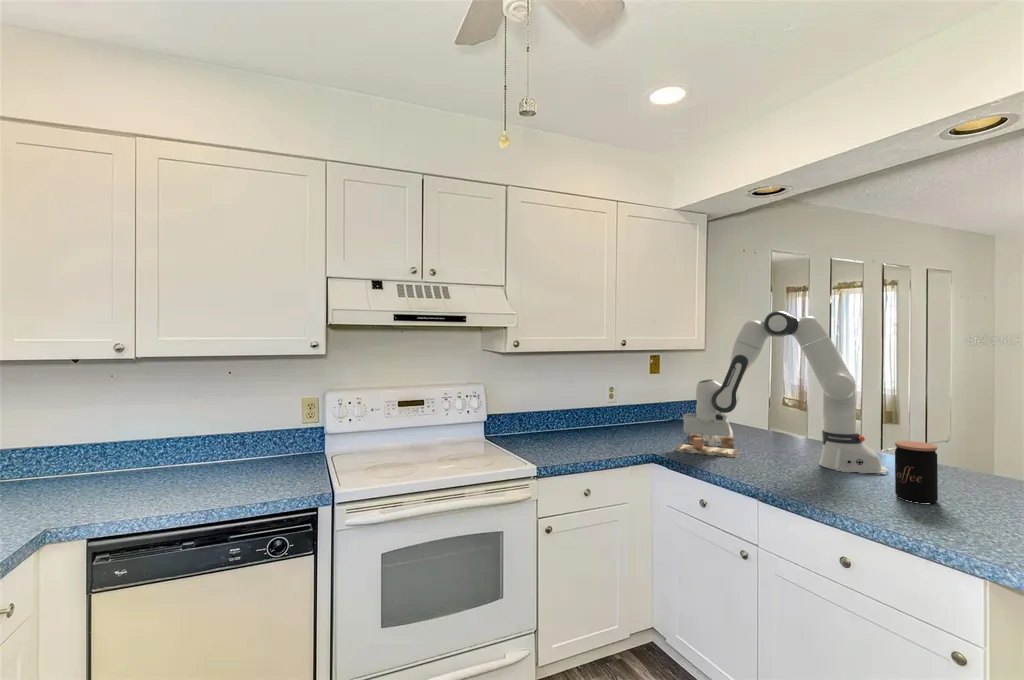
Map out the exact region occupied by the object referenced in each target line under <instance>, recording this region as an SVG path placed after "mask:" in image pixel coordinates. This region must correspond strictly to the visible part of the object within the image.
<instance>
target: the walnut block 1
mask: <svg viewBox="0 0 1024 680" xmlns="http://www.w3.org/2000/svg"><path fill="white" fill-rule="evenodd" d="M694 438H701V434H691V433H689V445H690V444H693V439H694Z"/></svg>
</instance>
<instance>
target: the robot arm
mask: <svg viewBox="0 0 1024 680" xmlns="http://www.w3.org/2000/svg"><path fill="white" fill-rule="evenodd" d="M787 336H792V337H793V338H794V339H795V340H796V342H797V343H798V345H799V347H800V349H801V351H802V352H803V354H804V356H805V357H806V359H807V361H808V363H809V365H810V366H811V367H810V368H811V369H812V370H813V372H814V375H815V376H816V379H817V380H818V383H819V384H820V386H821V388H822V391H823V392H822V393H823V407H822V411H823V413H822V415H823V416H822V417H823V418H822V419H823V421H822V422H823V428H822V429H823V430H822V431H821V432H822V433H821V443H822V450H821V457H820V460H819V462H818V464H819V466H821V467H824V468H827V469H831V470H834V471H837V472H839V471H841V472H840V473H850V472H859V473H858V474H865V473H887V472H888V473H889V470H888V468H887V467H886V466H884V465H882V463H881V459H880V457H879V455H878V453H876V452H875V451H874V450H873V449H871V448H870V447H868V446H867V445H866V444H864V443H863V442H865V440H866V437H864V436H863V435H861V434H860V433H858V432H857V406H856V403H857V402H856V400H857V399H856V389H857V384H856V379H855V378H854V376H853V375H852V374H851V372H850V370H849V369H848V367H847V365H846V363H845V362H844V360H843V358H842V356H841V354H840V352H839V351H838V349H837V347H836V345H835V344H834V342H833V340H832V339H831V337H830V335H829V333H828V332H827V330H826V329H825V328H824V326H823V325H822V324H821V322H820V321H819V320H818V319H817V318H816V317H814V316H811V315H806V316H803V317H799V318H797V317H794V316H793V315H791V314H790V313H789V312H786V311H783V310H776V311H775V310H774V311H771V312H770V313H769V314H768V315H766V316H765V318H764V320H761V321H760V320H755V319H751V320H747V321H746V322H745V323H744V324H743V326H742V327H741V329H740V331H739V333H738V335H737V337H736V338H735V342H734V344H733V348H732V352H731V356H730V357H731V358H730V364H729V368H728V370H727V373H726V375H725V377H724V380H723V382H722V384H721V383H719V382H718V381H716V380H715V379H712V378H711V379H704V380H700V381H699V382H697V384H696V390H695V399H696V406H695V412H696V413H689V412H688V413H685V414H683V416H682V420H683V429H682V430H683V432H684V433H685V434H701V438H702V440H703V444H704V445H706V444H707V445H710V440H711V439H712V437H713V435H714V436H726V437H728V436H729V435H730V427H731V425H730V422H729V420H728V415H727V414H728V413H731V412H733V411H734V410H735V408H736V406H737V405H738V403H739V401H740V395H739V393H738V389H739V386H740V385H741V382H742V379H743V377H744V376H745V373H746V372H747V370H749V368H751V367H752V365H753V364H754V363H755V362H756V361H757V359H758V358H759V356H760V354H761V351H762V349H763V347H764V344H765V342H766V341H767V339H768V338H769V337H776V338H784V337H787ZM704 435H709V437H710V439H709V440H705V439H704ZM707 445H706V446H707ZM888 473H887V474H888Z"/></svg>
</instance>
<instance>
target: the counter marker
mask: <svg viewBox="0 0 1024 680" xmlns="http://www.w3.org/2000/svg"><path fill="white" fill-rule="evenodd" d="M704 446H705V444H703V440H702V438H694V439H693V448H696V449H703V447H704Z"/></svg>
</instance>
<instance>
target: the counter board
mask: <svg viewBox="0 0 1024 680" xmlns="http://www.w3.org/2000/svg"><path fill="white" fill-rule="evenodd" d="M676 451H683V452H682V453H684V452H691V453H690V454H694V453H699V454H698V455H704V454H707V455H706V456H714V455H718V456H717V457H724V456H726V457H727V458H733V457H735V458H736V459H737V458H738V455H739V453H740V449H738V448H734V449H733V448H722V447H717V446H707V445H706V446H705V445H704V447H703V449H696V448H693V445H690V444H685V443H679V444H678V445H677V446H676V447H675V452H676Z"/></svg>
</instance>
